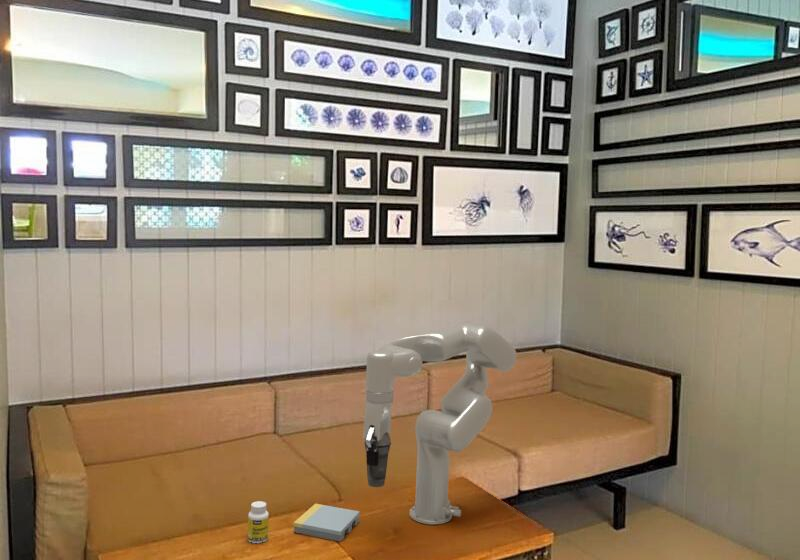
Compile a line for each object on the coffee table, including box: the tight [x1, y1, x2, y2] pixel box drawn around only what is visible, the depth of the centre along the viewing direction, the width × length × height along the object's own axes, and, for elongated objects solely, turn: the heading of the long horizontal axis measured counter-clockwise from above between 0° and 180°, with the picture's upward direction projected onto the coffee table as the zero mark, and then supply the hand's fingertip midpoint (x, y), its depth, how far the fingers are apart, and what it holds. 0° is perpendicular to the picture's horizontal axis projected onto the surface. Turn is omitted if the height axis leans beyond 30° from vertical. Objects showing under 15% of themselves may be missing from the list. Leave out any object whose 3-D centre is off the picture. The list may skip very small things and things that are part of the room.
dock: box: [293, 503, 361, 543], centre depth 188 cm, size 14×14×3 cm
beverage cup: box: [364, 432, 392, 488], centre depth 182 cm, size 7×7×20 cm
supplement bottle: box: [246, 500, 270, 544], centre depth 179 cm, size 5×5×10 cm
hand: (377, 460), depth 182 cm, fingers closed on beverage cup, 6 cm apart
